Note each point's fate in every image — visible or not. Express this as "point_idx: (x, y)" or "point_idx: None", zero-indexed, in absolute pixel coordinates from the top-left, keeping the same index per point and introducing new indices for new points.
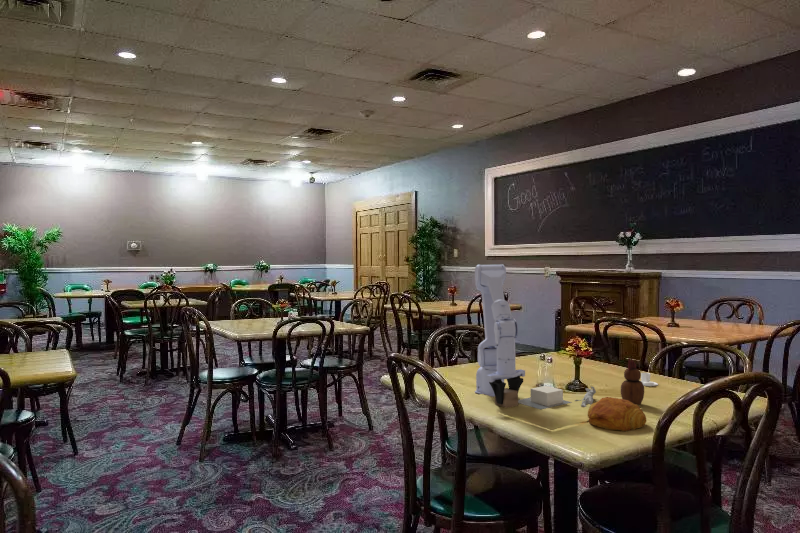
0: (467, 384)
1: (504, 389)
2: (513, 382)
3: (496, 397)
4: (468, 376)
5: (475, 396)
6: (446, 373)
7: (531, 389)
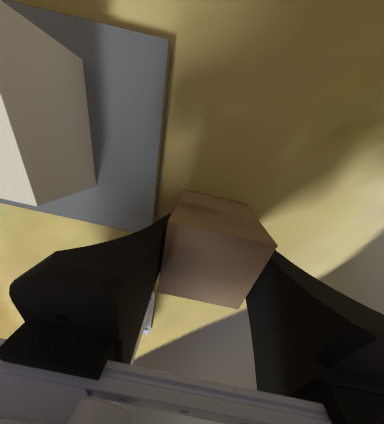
0: None
1: (191, 287)
2: (140, 301)
3: None
4: None
5: (173, 318)
6: None
7: (38, 197)
